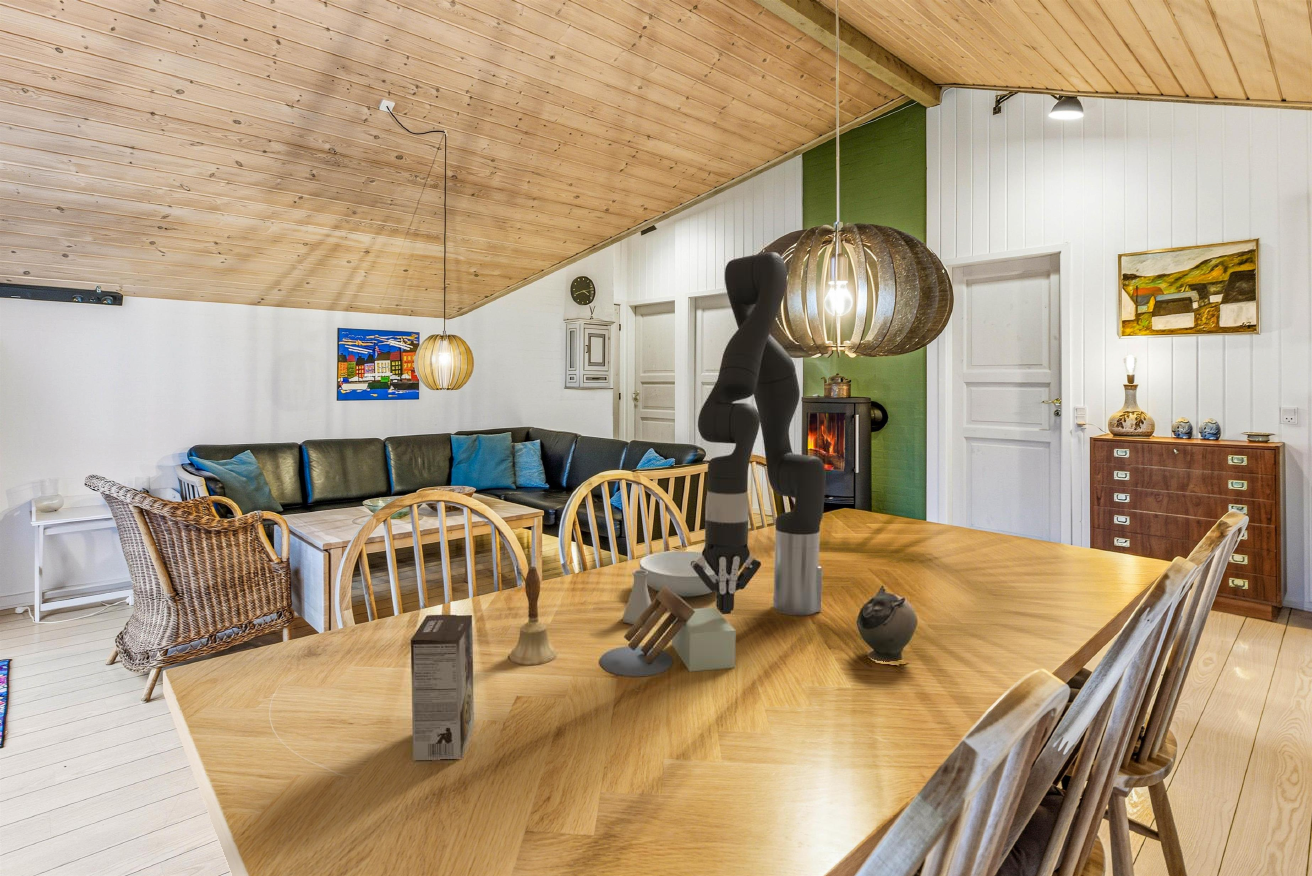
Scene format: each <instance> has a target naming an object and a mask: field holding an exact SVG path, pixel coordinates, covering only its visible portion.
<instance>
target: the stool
mask: <svg viewBox="0 0 1312 876" xmlns="http://www.w3.org/2000/svg"><path fill="white" fill-rule="evenodd" d="M693 609H694V608H693V607H692V606H690V605H689V604H688V603H687V602H686V601H685V600H684V599H683V598H682V597H680V596H678V595H677V594H676V593H674V592H673V591H672V590H671V589H669V588H668V587H667V586H665V585H664V586H663V588H662V589H661V590H660V591H658V593H656V595H655V598H654V599H653V600H652V601H651V604H650V605H649V606H648V608H647V609H646V610H645V611H644V612H643V614H642V615H641V616H640V617H639V619H638V620H637V621H636V622H635V623H634V624H632V626H631V627H630V628H629V629H628V630H627V631H626V633H625V635H624V636H623V638H624V639H625V640H626V641H627V642H629V643H628V644H627V646H629V647H630V648H631V649H632V650H635V649H636V648H637V647H638V646H640V644H641V643H642V642H643V641H644V639H645V638H646V637H647V636H648V635H649V634H650V632H651V631H652V630H653V628H654V627H655V626H656V625H657V624H658V622H659V621H660V620H661V618H663V616H664V615H665V614H666V613H667V612H668V611H669V612H670V613H669V614H668V616H667V617H666V618H665V619H664V620H663V621H662V623H661V624H660V625H659V627H658V628H656V630H655V631H654V633H653V634H652V635H651V636H650V637H649V638H648V640H647V641H646V642H645V643H644V645H642V646H643V647H642V648H641V651H642V652H643V653H644V654H645V655H647V654H648V652H649V651H650V650H651V649H652V648H653V650H652V651H651V652H650V653H649V654H648V656H647V657H646V658H645V659H646V660H647V661H648V662H649V663H650V664H652V663H653V662H654V660H655V659H656V658H657V657H658V655H659V654H660V653H661V652H662V651H664V649H665V648H666V647H667V645H668V644H669V643H670V642H672V638H673V637H674V636H675V635H676V633H677V632H678V631H679V630H680V629H681V627H682V626H683V625H684V624H685V623H687V621H688V620H689V619H690V618H691V616H692V615H693V614H694V613H695V611H694V610H693ZM654 612H655V613H654ZM653 613H654V614H653ZM652 614H653V615H652ZM651 615H652V616H651ZM650 617H651V618H650ZM649 618H650V619H649ZM676 618H678V619H677V620H676ZM648 619H649V620H648ZM647 620H648V621H647ZM675 620H676V622H675V623H674V624H673V625H672V623H673V622H674V621H675ZM646 621H647V622H646ZM645 623H646V624H645ZM644 624H645V625H644Z"/></svg>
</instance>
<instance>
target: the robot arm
mask: <svg viewBox="0 0 1312 876" xmlns="http://www.w3.org/2000/svg"><path fill="white" fill-rule="evenodd" d="M786 267H787V266H786V263H785V262H784V259H783V257H782V256H781V255H780V254H779V253H778V252H774V251H771V252H770V251H768V252H762V253H761V252H760V253H757V254H752V255H748V256H743V257H739V258H738V257H737V258H734V259H731V260H729V261H728V262H727V263H726V266H725V268H724V283H725V288H726V290H725V291H726V293H727V298H728V300H729V304H730V307H731V311H732V313H733V316H734V320H735V323H736V325H737V328H738V329H737V330H736V331H735V333H734V334H733V335H732V336H731V338H730V339H729V341H728V342H727V344H726V347H725V348H724V351H723V353H722V356H721V357H722V359H721V362H720V367H719V372H718V375H717V376H718V377H717V380H716V381H715V384H714V386H713V387H712V389H711V391H710V393H709V395H708V397H707V398H706V400H705V401H704V403H703V405H702V407H701V409H700V411H699V415H698V419H697V428H698V429H697V430H698V432H699V433H698V434H699V435H700V437H701V438H702V439H703V440H704V441H706V442H708V443H716V444H717V443H718V444H720V443H721V444H735V447H734V449H733V451H732V453H731V454H726V455H721V456H715V457H712V458H711V459H709V461H708V465H707V493H706V499H705V511H704V513H705V516H704V518H705V520H704V521H705V523H704V524H705V525H704V526H705V527H704V548H703V550H702V556H701V557H700V558H699V559H698V560H697V561H692V562H691V564H690V565H691V567H692V568H693V569H694V571H695V572H696V573H697V574H698V576H699V577H700V578H701V580H702V581H703V582H704V583H705V585H706V586H707V587H708V588H709V589H710V590H711V591H713V592H715V593H716V601H715V602H716V603H715V607H716V608H717V609H716V610H717V611H718V612H719V613H720V614H721V615H731V612H732V611H733V610H734V608H735V593H736V592H737V591H739V590H744V589H745V587H747V585H748V584H749V582H751V580H752V578H753V577H754V576H755V574H756V573H757V572H758V570H759V569H760V567H761V566H762V562H761V561H759V560H758V559H756V558H755V557H754V556H752V555H751V551H750V549H749V547H748V543H749V541H748V539H749V536H748V535H749V516H750V510H749V509H750V508H749V507H750V506H749V505H750V504H749V499H748V498H749V496H748V491H749V490H748V487H749V486H748V483H749V467H750V461H751V457H752V453H753V452H752V451H753V448H754V446H755V443H756V439H757V438H758V437H757V436H758V433H759V430H760V429H761V434H762V438H763V439H762V440H763V447H764V456H765V465H766V473H767V478H768V482H769V485H770V486H771V489H772V490H773V492H774V493H775V494H777V495H779V496H782V497H788V498H793V499H795V500H794V507H793V509H792V510H791V511H788V512H787V511H786V512H783V513H780V514H778V515H777V516H776V517H775V529H774V531H775V535H774V568H773V569H774V572H773V574H774V575H773V578H774V579H773V598H772V599H773V600H772V601H773V603H772V604H773V605H772V606H773V609H774V610H776V611H777V612H779V613H782V614H785V615H790V616H808V615H809V616H810V615H814V614H815V613H817V612H818V613H820V612H822V591H823V589H822V588H823V567H822V566H820V564H819V562H820V558H819V557H820V532H821V531H820V530H821V522H822V519H823V515H824V507H825V494H826V484H827V479H826V478H827V476H826V475H827V473H826V468H825V465H824V462H823V460H822V459H820V458H819V457H817V456H813V455H809V454H807V455H806V454H797V453H796V454H795V453H794V451H793V450H792V445H791V440H790V426H791V424H792V423H791V422H792V419H793V417H794V415H795V412H796V410H797V407H798V405H799V400H800V396H801V395H800V393H801V392H800V386H799V385H800V384H799V380H798V376H797V371H796V366H795V363H794V361H793V359H792V357H791V356H790V354H789V353H788V352H787V351H786V350H785V348H784V347H783V346H782V345H781V344H780V343H779V342H778V341H777V340H776V339H775V338H774V337H773V336H772V334H771V332H772V330H773V329H772V328H773V327H774V323H775V322H776V319H777V315H778V314H779V313H778V312H779V311H780V308H781V305H782V303H783V299H784V297H785V295H786V294H785V293H786V289H787V285H788V284H787V283H788V272H787V271H788V270H787V268H786ZM752 396H753V397H754V401H755V405H756V407H755V406H754V405H753V404H750V403H747V402H746V403H745V402H744V403H743V402H738V401H741V400H745V399H749V398H751V397H752ZM706 562H707V564H708V565H709V566H710V568H711V569H712V570H713V571H714V577H715V582H713V581H712V580H711V579H710V577H709V576H708V575H707V574H706V572H705V570H706V565H705V563H706ZM743 566H744V567H743ZM740 570H741V571H740ZM739 571H740V573H739Z"/></svg>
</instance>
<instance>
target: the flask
mask: <svg viewBox="0 0 1312 876" xmlns="http://www.w3.org/2000/svg"><path fill="white" fill-rule="evenodd" d="M632 575H633V584H632V589H631V592H630V595H629V597H628V598H629V599H628V602H627V604H626V607H625V608H624V609H625V610H624V612H623V615H622V621H623V623H626V624H629V625H634V623H635V622H636V621H637V620H638V619H639V617H640V616H641V615H642V614H643V612H644V611H645V610H646V609H647V608H648V606H649V605H650V604H651V603H652V600H651V597H650V593H649V590H648V584H647V575H648V571H645V570H640V569H636V570H633V571H632ZM655 612H656V611H655ZM655 612H654V613H655ZM654 613H653V614H654ZM653 614H652V615H653ZM652 615H651V616H652ZM650 618H651V617H650ZM650 618H649V619H650ZM649 619H648V620H649ZM648 620H647V621H648ZM647 621H646V622H647ZM645 624H646V623H645ZM645 624H644V625H645ZM644 625H643V626H644Z"/></svg>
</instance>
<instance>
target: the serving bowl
mask: <svg viewBox="0 0 1312 876" xmlns="http://www.w3.org/2000/svg"><path fill="white" fill-rule="evenodd" d="M701 556H702V552H700V551H691V550H689V551H688V550H671V551H662V552H661V551H660V552H656V553H651V554H648V555H645V556H644V557H641V558H640V561H639V570H645V571H648V575H647V586H650V587H651V588H652V589H653V590H655V591H658V592H659V591H660V590H661V589H662V588H663V586H664V585H665V586H667V587H668V588H669V589H671V590H672V591H673V592H674V593H676V594H677V595H678V596H679V597H680V598H682V597H685V598H686V597H687V598H690V597H696V596H697V597H698V596H703V595H707V594H710V593H712V592H714V591H711V590H710V589H709V588H708V587H707V586H706V585H705V583H704V582H703V581H702V580H701V578H700V577H699V576H698V574H697V573H696V572H695V571H694V569H693V568H692V567H691V565H690V564H691V562H692V561H697V560H698V559H699V558H700V557H701ZM705 565H706V570H705V572H706V574H707V575H708V576H709V577H710V579H711V580H712V581H713V582H715V577H714V571H713V570H712V569H711V568H710V566H709V565H708V564H707V562H706V563H705Z"/></svg>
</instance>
